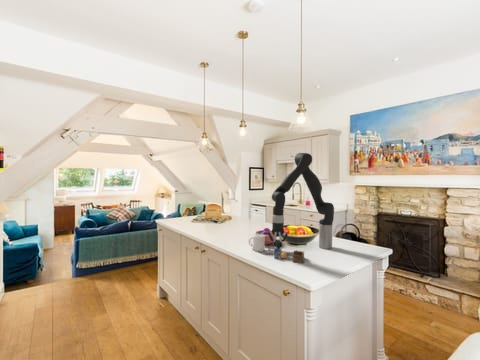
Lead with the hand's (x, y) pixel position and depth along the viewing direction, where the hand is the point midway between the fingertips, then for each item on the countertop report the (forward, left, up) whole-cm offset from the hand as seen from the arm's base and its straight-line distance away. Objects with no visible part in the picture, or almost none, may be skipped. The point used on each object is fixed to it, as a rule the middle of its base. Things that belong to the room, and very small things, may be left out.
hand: (277, 247), depth 171 cm
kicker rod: (+4, 0, -4) cm, 6 cm away
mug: (-6, -16, -5) cm, 18 cm away
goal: (+8, +14, -5) cm, 17 cm away
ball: (+8, +5, -3) cm, 10 cm away
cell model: (-25, -12, -5) cm, 28 cm away
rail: (0, +3, -5) cm, 6 cm away
